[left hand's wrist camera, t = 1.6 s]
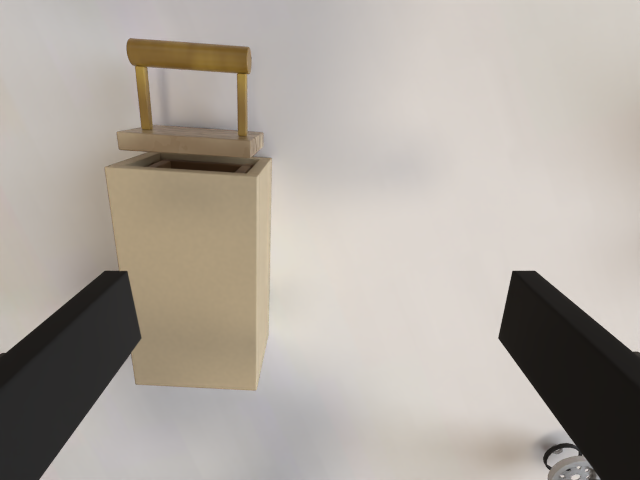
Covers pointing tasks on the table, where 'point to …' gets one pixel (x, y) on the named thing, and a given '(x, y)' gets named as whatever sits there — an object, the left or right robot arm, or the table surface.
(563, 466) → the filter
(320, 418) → the table surface
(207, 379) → the wooden box
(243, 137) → the drawer
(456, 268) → the table surface
